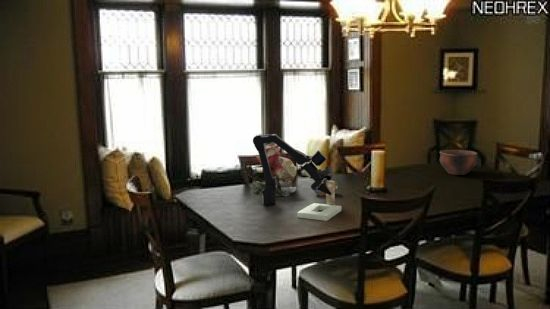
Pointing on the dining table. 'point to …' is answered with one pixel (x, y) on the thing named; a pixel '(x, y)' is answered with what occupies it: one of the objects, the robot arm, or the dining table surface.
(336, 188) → the tin
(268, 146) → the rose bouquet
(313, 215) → the keyhole plate
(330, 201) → the peg
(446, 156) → the bowl
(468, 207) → the dining table surface
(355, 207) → the dining table surface
